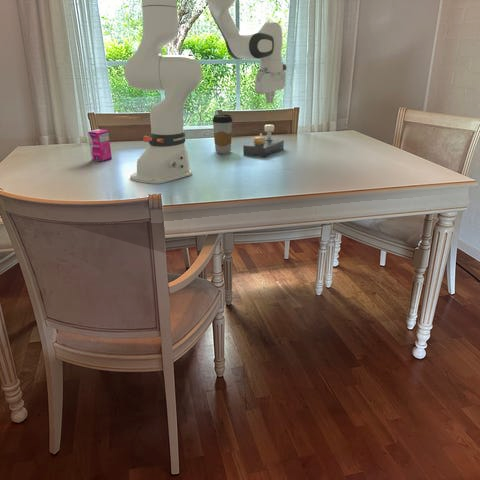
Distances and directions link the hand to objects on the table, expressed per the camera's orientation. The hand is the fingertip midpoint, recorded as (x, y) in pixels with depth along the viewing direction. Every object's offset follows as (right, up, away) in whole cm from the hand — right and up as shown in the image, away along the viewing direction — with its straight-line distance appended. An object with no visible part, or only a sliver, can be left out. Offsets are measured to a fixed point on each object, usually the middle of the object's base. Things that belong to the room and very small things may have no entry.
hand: (269, 102), depth 185 cm
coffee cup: (-20, -19, +5) cm, 28 cm away
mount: (-2, -19, +4) cm, 20 cm away
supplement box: (-68, -25, -6) cm, 72 cm away
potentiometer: (-4, -15, +4) cm, 16 cm away
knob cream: (0, -14, +6) cm, 16 cm away
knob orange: (-5, -21, +1) cm, 21 cm away
